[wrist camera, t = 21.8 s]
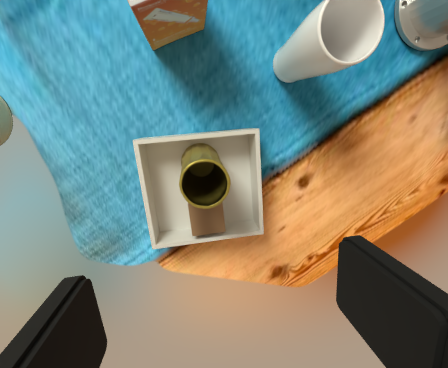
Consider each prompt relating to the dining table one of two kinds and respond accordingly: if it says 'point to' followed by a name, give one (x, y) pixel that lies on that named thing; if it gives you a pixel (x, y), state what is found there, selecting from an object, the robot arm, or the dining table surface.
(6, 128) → the can
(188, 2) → the small box
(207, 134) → the box
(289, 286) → the dining table surface
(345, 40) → the drinking glass
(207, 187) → the vase
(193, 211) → the walnut cube
